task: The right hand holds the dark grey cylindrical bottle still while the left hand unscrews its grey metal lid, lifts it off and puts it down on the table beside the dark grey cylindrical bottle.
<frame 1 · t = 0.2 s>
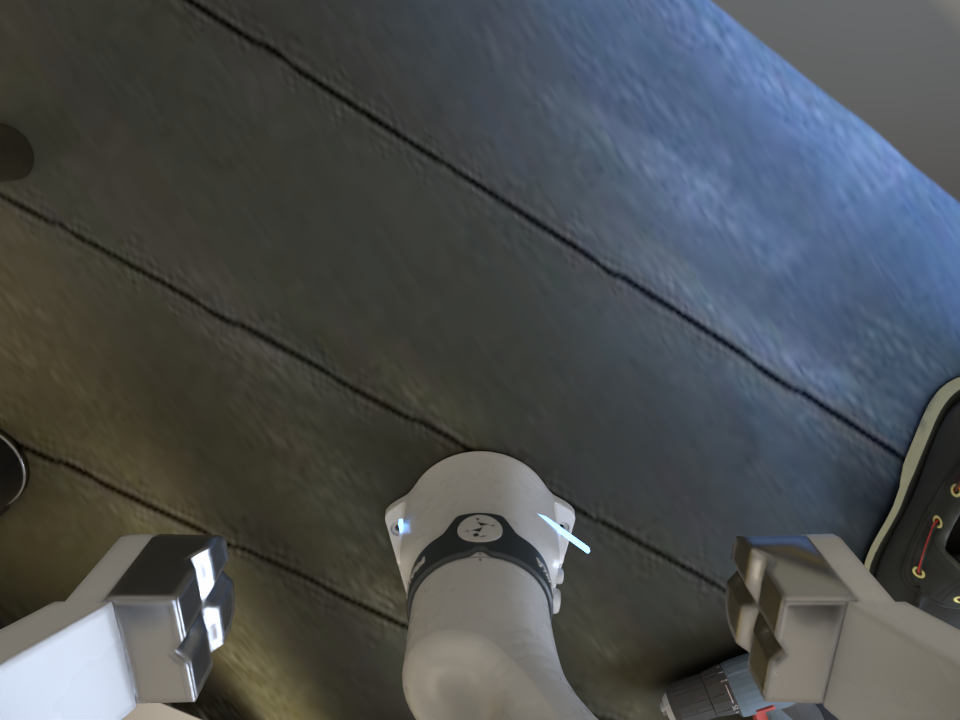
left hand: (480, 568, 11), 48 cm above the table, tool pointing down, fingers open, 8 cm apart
power drill: (753, 706, 75), on the table
boat shoe: (937, 521, 67), on the table
dark grey cylindrical bottle: (6, 152, 54), on the table
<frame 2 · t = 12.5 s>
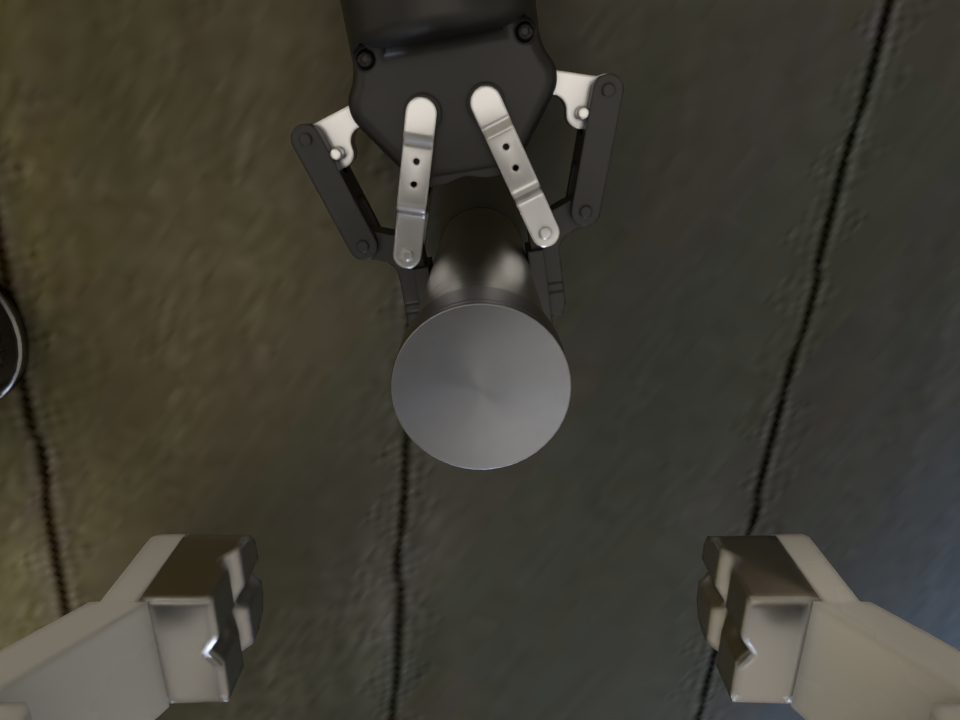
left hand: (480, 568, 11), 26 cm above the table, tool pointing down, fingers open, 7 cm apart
dark grey cylindrical bottle: (480, 248, 35), on the table, touching right hand
lid: (481, 385, 18), point 19 cm above the table, screwed on, not yet turned
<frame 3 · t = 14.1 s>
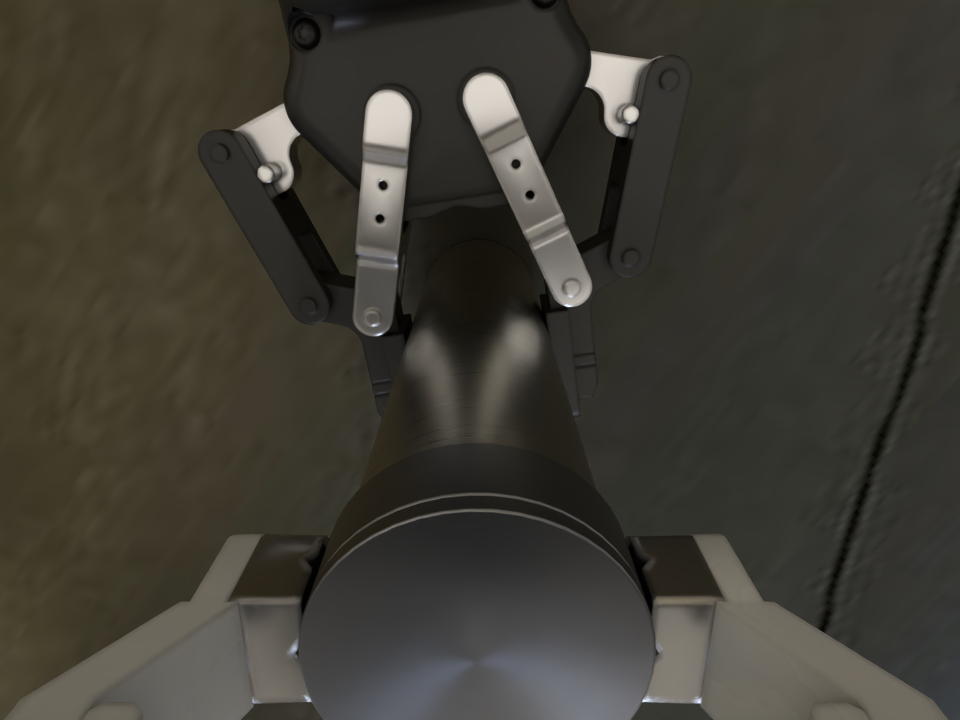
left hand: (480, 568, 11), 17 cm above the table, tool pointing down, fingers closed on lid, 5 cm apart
dark grey cylindrical bottle: (479, 292, 27), on the table, touching right hand
lid: (477, 643, 9), point 19 cm above the table, screwed on, not yet turned, touching left hand
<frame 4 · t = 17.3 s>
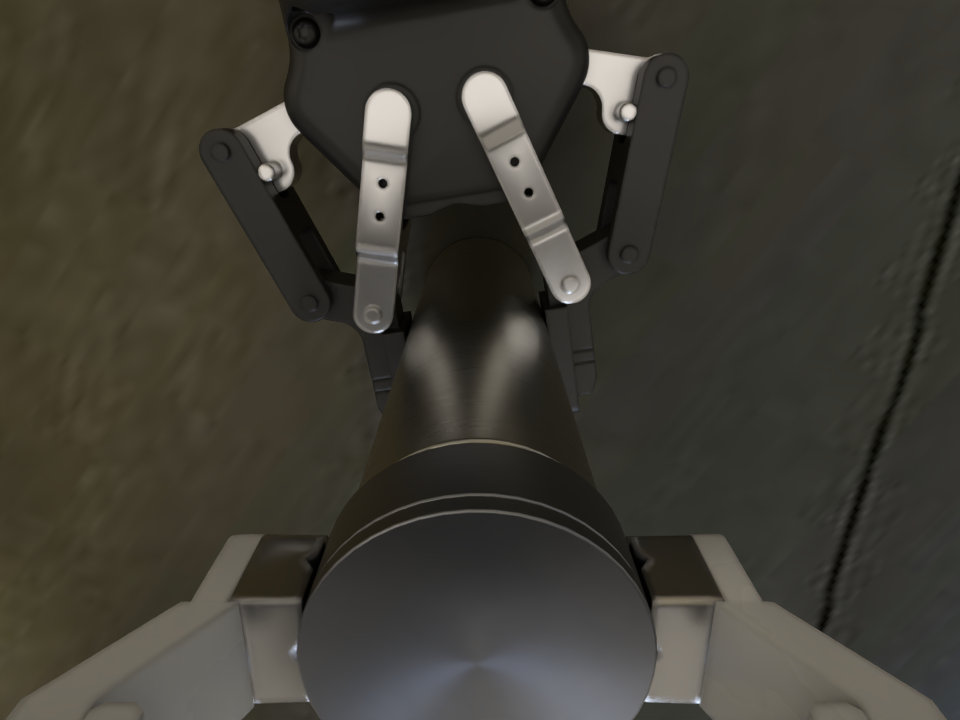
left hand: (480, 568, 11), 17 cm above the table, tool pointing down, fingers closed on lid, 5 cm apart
dark grey cylindrical bottle: (478, 290, 27), on the table, touching right hand
lid: (477, 644, 9), point 19 cm above the table, turned 82° so far, risen 0.2 cm, still on its thread, touching left hand
when the left hand's fingers open (2 cm above the table, at t = 24.8 s): lid drops 2 cm, point 1 cm above the table.
when the right hand's fingers open (6 cm above the table, at t = 25.9 s): dark grey cylindrical bottle stays where it is, on the table.
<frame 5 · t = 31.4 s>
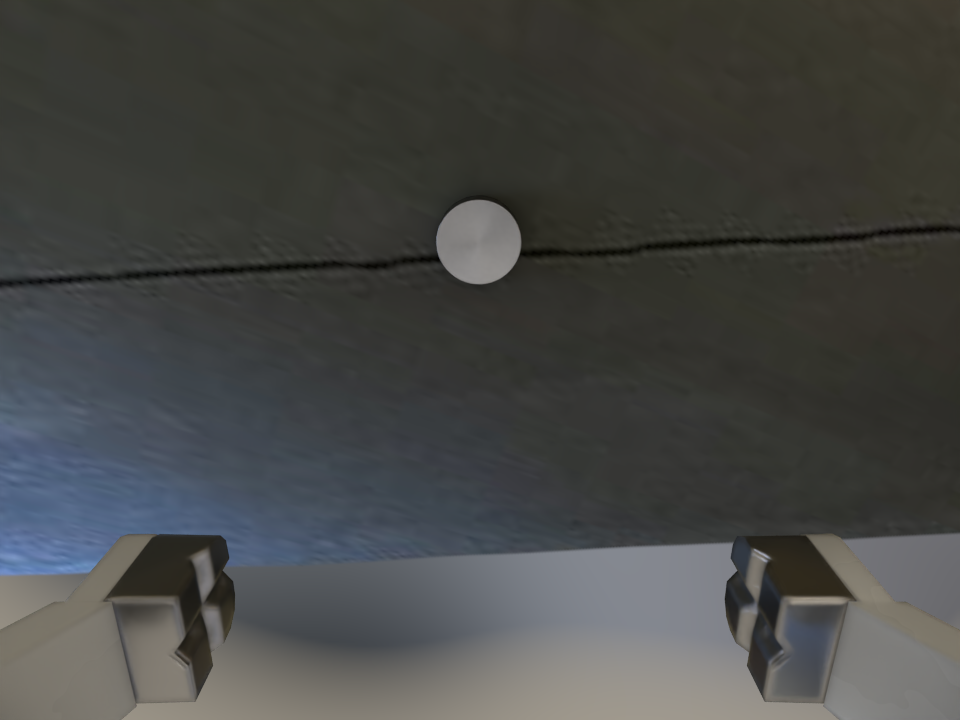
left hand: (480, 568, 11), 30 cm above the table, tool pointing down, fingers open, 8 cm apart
lid: (478, 241, 37), point 1 cm above the table, off its thread
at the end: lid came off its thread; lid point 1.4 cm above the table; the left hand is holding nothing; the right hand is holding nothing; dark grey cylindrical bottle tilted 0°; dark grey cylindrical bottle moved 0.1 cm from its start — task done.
